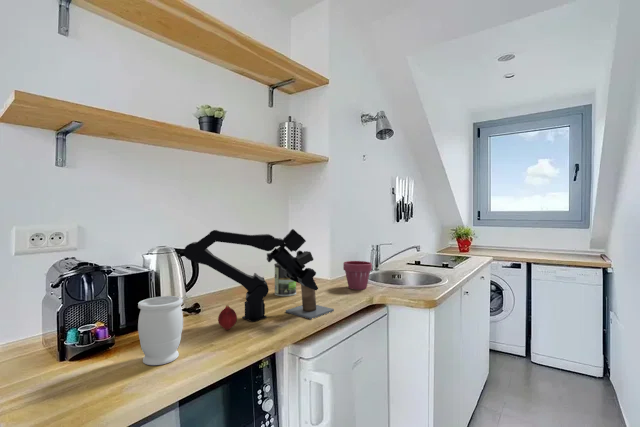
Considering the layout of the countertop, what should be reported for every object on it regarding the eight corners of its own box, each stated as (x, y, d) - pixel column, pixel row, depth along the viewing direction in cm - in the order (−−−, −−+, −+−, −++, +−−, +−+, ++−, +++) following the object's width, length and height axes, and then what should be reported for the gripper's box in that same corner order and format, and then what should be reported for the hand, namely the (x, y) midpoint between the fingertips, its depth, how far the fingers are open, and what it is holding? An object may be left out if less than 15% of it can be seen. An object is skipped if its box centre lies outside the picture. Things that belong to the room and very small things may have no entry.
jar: (132, 358, 83) (132, 300, 83) (174, 347, 91) (173, 293, 91) (145, 372, 76) (145, 308, 76) (189, 358, 83) (189, 300, 83)
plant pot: (368, 284, 171) (368, 260, 171) (374, 290, 157) (374, 264, 157) (341, 285, 170) (341, 260, 170) (345, 291, 156) (345, 264, 156)
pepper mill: (309, 312, 119) (307, 277, 119) (299, 310, 123) (297, 276, 123) (319, 308, 123) (316, 274, 123) (309, 306, 127) (306, 273, 127)
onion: (240, 328, 105) (240, 304, 105) (227, 334, 100) (227, 308, 100) (227, 325, 108) (227, 301, 108) (214, 331, 103) (214, 306, 103)
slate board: (311, 319, 114) (311, 317, 114) (285, 312, 122) (285, 310, 123) (333, 311, 124) (333, 309, 124) (309, 305, 132) (309, 303, 132)
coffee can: (301, 293, 153) (300, 263, 153) (285, 297, 144) (285, 266, 145) (285, 290, 159) (284, 261, 159) (269, 294, 151) (269, 264, 151)
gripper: (311, 246, 113) (338, 275, 118) (290, 242, 130) (315, 268, 135) (290, 270, 110) (319, 299, 115) (272, 263, 126) (298, 289, 131)
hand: (313, 287), depth 124 cm, fingers open, 7 cm apart
